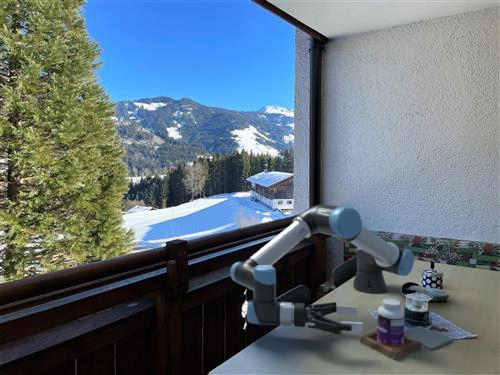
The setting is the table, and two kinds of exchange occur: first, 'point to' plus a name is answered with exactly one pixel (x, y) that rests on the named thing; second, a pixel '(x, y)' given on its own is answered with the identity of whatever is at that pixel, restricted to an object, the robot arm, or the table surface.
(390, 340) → the pill bottle
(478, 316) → the table surface
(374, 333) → the walnut frame
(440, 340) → the slate coaster
